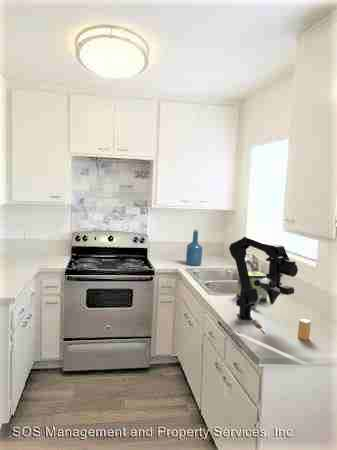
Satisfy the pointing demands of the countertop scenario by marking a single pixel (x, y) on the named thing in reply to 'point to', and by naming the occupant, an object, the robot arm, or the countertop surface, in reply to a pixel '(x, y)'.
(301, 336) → the lidded box
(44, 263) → the countertop surface
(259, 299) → the lighter
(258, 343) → the countertop surface
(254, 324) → the wooden handled tool
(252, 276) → the protein box
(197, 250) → the wine bottle
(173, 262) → the countertop surface
